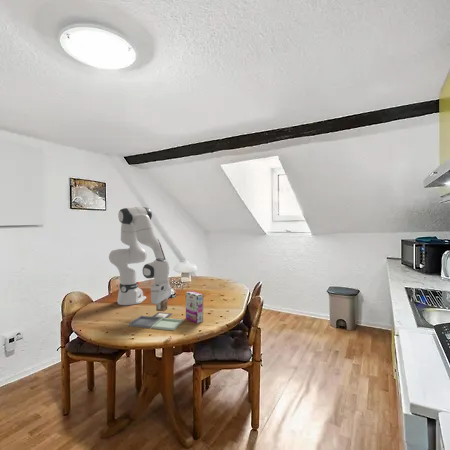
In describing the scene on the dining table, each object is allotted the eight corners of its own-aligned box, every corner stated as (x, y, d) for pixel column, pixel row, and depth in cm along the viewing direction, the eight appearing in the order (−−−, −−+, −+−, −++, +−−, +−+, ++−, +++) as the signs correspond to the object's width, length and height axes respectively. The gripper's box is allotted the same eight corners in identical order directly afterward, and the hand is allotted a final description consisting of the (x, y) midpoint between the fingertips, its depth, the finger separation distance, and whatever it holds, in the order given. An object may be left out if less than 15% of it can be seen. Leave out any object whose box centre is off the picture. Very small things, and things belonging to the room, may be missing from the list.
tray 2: (162, 320, 164) (162, 317, 164) (183, 322, 161) (183, 319, 161) (151, 328, 151) (151, 325, 151) (173, 331, 148) (173, 328, 148)
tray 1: (141, 318, 167) (141, 315, 167) (161, 320, 164) (161, 317, 164) (128, 326, 155) (128, 323, 154) (150, 328, 151) (150, 325, 151)
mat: (158, 312, 177) (158, 312, 177) (172, 314, 175) (172, 313, 175) (150, 318, 167) (150, 317, 167) (165, 319, 165) (165, 318, 165)
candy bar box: (203, 321, 162) (203, 294, 162) (197, 324, 158) (197, 295, 158) (192, 317, 170) (192, 290, 170) (185, 319, 166) (185, 292, 166)
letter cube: (160, 308, 174) (160, 300, 174) (167, 308, 173) (167, 300, 173) (156, 310, 169) (156, 302, 169) (163, 311, 168) (163, 302, 168)
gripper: (164, 281, 181) (164, 302, 182) (148, 288, 162) (149, 311, 162) (173, 281, 180) (173, 302, 180) (158, 289, 160) (158, 312, 160)
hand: (161, 307), depth 171 cm, fingers closed on letter cube, 5 cm apart
